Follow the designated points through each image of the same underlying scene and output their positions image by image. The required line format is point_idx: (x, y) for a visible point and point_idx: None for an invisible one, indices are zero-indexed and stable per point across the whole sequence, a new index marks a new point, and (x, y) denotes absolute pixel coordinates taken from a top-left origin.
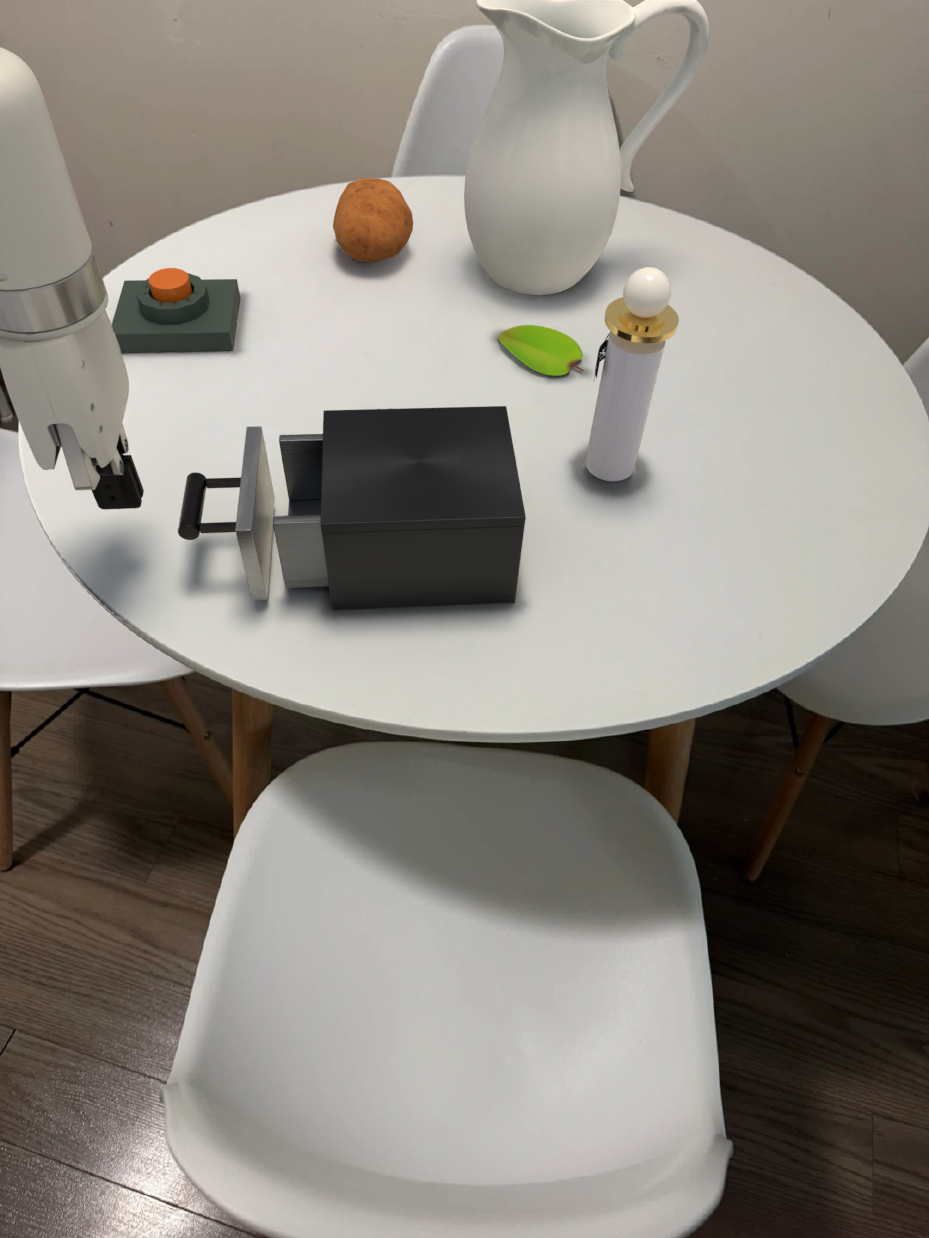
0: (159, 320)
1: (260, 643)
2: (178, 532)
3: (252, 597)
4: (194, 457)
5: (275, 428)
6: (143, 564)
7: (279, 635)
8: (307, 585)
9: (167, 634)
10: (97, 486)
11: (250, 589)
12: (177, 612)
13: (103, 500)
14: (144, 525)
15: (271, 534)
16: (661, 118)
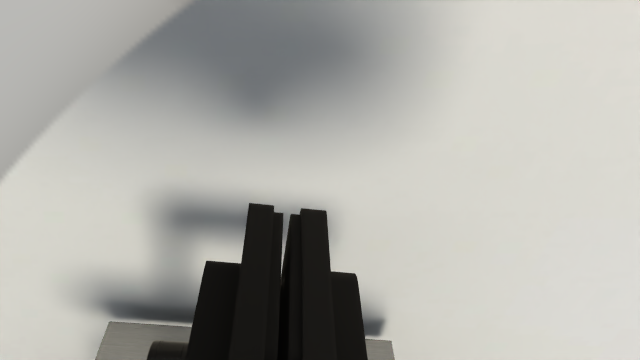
0: None
1: (28, 306)
2: (148, 355)
3: (106, 329)
4: (598, 220)
5: (603, 345)
6: (262, 117)
7: (51, 330)
8: None
9: (33, 166)
10: (191, 341)
11: (98, 350)
12: (101, 184)
13: (203, 279)
14: (401, 119)
15: None
16: None
